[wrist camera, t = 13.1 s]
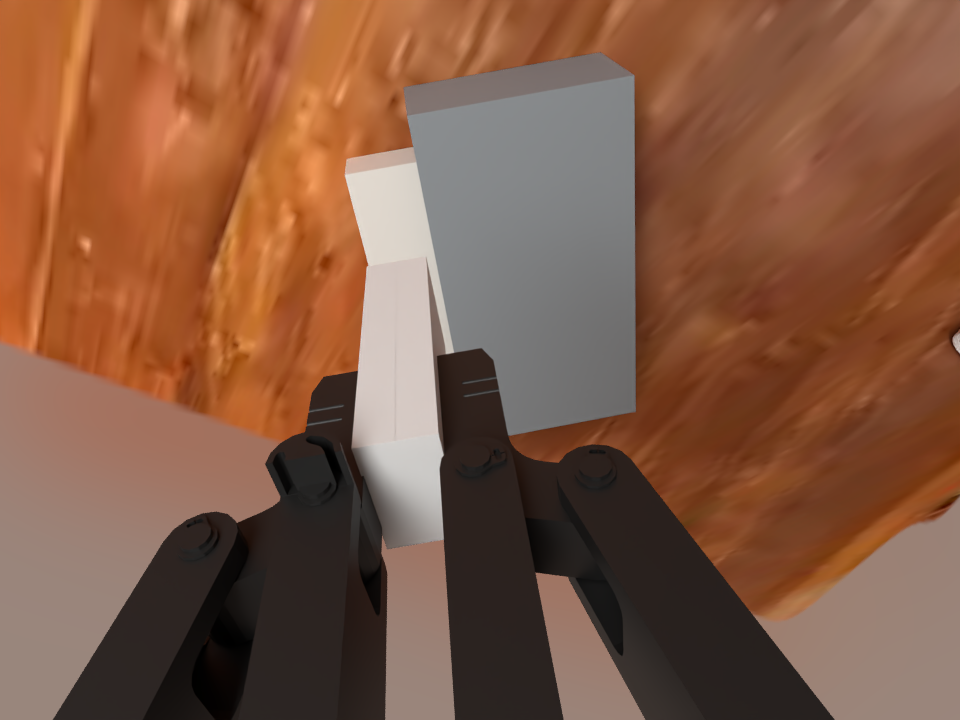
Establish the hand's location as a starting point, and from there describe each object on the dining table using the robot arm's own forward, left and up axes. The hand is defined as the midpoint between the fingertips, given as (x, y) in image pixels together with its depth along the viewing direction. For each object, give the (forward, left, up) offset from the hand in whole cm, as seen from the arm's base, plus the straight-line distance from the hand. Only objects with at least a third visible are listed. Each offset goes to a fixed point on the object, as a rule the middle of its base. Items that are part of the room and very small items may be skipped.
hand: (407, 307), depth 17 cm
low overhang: (+12, +7, -27) cm, 30 cm away
